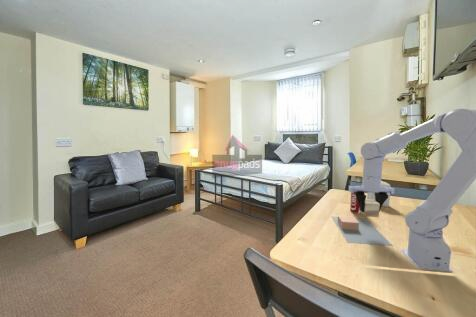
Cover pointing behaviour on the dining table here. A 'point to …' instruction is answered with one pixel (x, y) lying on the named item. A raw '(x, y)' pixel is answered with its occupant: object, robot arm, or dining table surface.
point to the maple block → (371, 208)
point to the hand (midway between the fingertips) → (369, 211)
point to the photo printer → (372, 195)
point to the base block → (348, 222)
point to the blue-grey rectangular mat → (363, 233)
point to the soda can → (354, 204)
